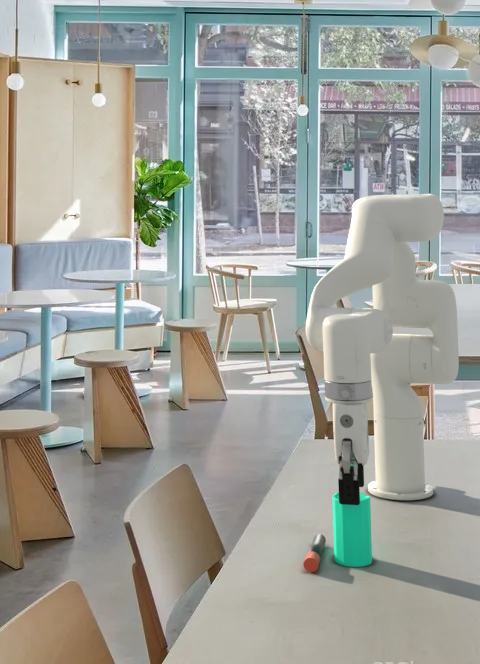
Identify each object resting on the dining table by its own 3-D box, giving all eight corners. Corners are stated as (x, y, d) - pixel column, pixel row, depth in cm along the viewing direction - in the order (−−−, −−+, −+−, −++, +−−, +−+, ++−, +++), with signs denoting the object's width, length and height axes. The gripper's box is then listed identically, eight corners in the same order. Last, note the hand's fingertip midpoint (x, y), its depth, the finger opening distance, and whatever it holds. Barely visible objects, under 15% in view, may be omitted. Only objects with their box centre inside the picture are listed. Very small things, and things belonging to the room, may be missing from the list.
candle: (372, 567, 163) (370, 492, 163) (334, 565, 164) (332, 491, 164) (371, 554, 169) (369, 482, 169) (334, 553, 170) (331, 481, 170)
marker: (313, 543, 175) (313, 530, 175) (327, 544, 175) (327, 531, 175) (303, 571, 162) (303, 557, 162) (318, 573, 161) (317, 558, 161)
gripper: (368, 402, 158) (372, 513, 158) (374, 380, 174) (378, 481, 174) (319, 401, 160) (323, 510, 160) (330, 380, 176) (333, 478, 177)
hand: (352, 495), depth 167 cm, fingers open, 9 cm apart
